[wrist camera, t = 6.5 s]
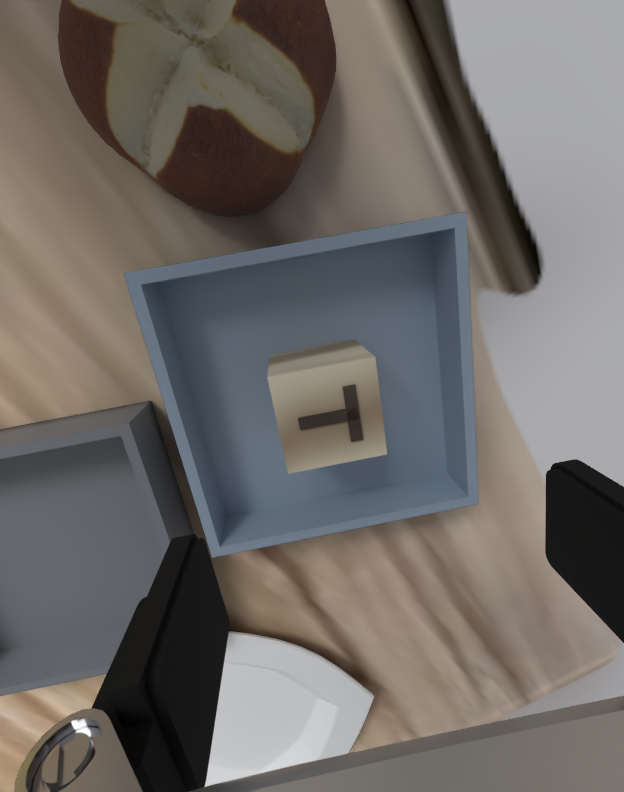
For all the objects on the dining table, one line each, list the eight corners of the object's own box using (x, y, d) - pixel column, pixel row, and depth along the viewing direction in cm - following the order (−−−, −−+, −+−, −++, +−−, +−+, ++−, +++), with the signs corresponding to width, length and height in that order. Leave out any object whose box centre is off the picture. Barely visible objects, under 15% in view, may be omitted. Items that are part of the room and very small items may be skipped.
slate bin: (148, 273, 21) (123, 273, 17) (436, 221, 21) (466, 211, 18) (220, 520, 26) (212, 557, 22) (452, 473, 26) (478, 503, 23)
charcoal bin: (-122, 452, 23) (-193, 484, 19) (150, 400, 23) (128, 423, 20) (-5, 651, 28) (-45, 705, 24) (217, 606, 28) (208, 652, 25)
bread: (242, 254, 21) (232, 248, 17) (46, 93, 18) (-35, 30, 14) (375, 70, 19) (407, 3, 14) (177, -144, 16) (137, -315, 12)
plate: (78, 750, 32) (65, 780, 30) (183, 580, 28) (177, 602, 26) (281, 805, 36) (281, 834, 34) (398, 665, 32) (406, 690, 30)
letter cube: (269, 355, 22) (267, 378, 17) (354, 339, 22) (376, 357, 17) (286, 435, 24) (288, 477, 19) (365, 420, 24) (388, 457, 19)
